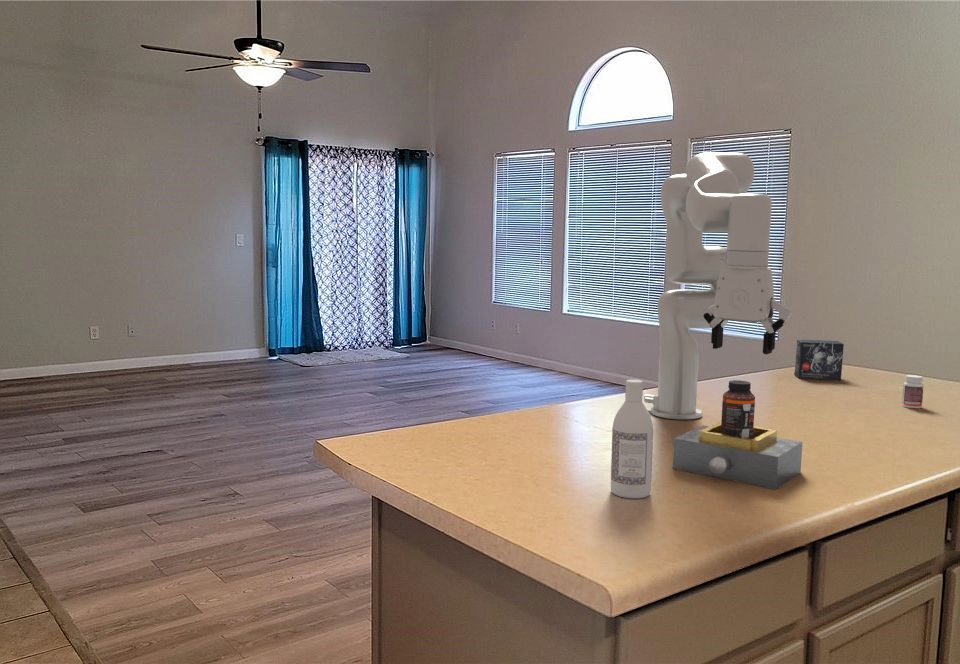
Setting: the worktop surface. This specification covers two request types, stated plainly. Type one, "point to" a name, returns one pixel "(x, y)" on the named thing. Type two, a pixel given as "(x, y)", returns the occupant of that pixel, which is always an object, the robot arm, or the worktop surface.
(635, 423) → the bath foam
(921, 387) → the pill bottle
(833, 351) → the small box
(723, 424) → the supplement bottle
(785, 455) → the grey boxy piece
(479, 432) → the worktop surface
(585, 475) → the worktop surface
